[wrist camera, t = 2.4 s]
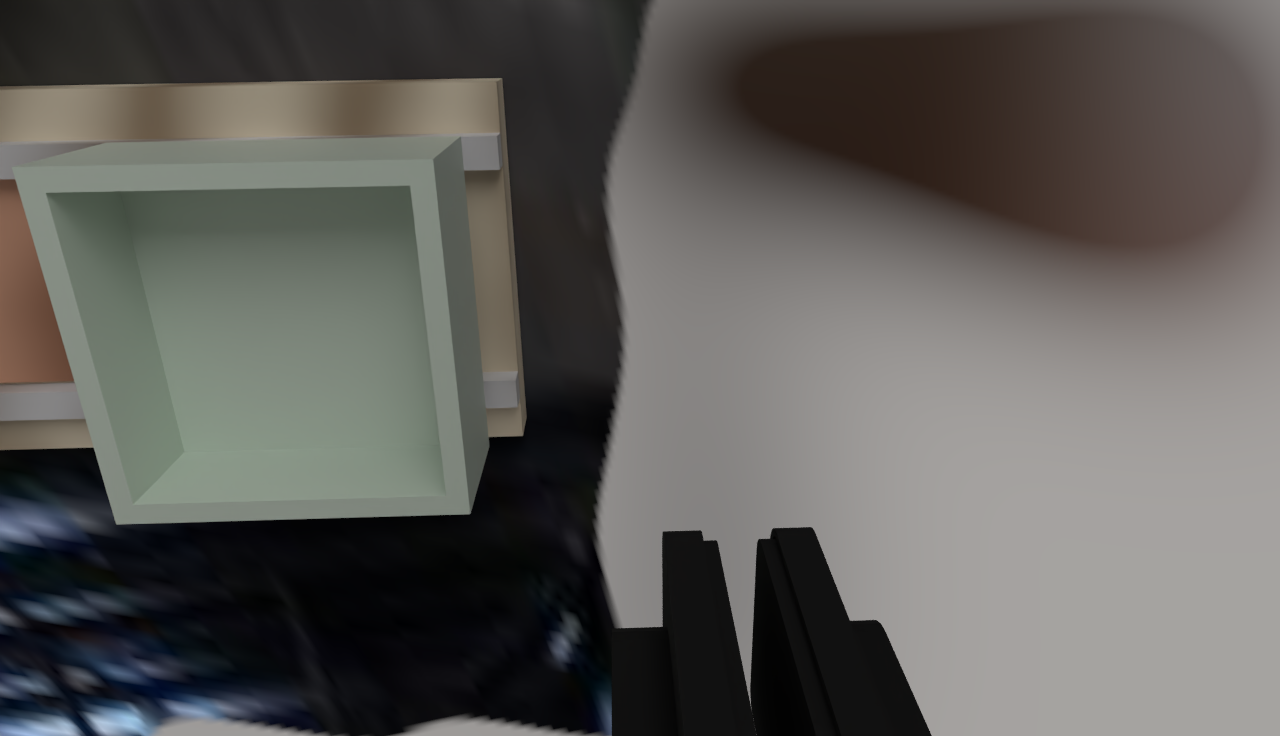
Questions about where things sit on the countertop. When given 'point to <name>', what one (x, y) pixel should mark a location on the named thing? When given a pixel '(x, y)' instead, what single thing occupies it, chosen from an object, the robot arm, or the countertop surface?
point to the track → (95, 114)
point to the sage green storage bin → (268, 324)
